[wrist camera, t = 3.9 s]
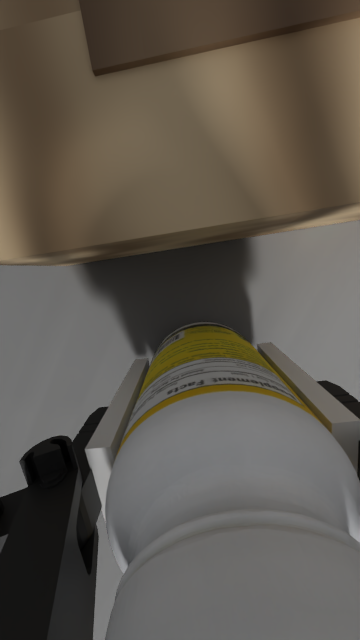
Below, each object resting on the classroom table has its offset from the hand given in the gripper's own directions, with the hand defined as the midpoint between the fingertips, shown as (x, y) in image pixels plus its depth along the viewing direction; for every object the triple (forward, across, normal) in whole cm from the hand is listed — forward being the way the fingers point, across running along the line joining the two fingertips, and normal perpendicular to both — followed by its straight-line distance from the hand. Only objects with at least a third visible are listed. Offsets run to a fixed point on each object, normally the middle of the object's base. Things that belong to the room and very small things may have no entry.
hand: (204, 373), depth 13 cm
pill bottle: (+1, 0, 0) cm, 1 cm away
